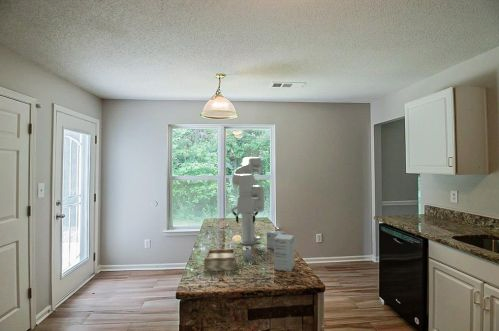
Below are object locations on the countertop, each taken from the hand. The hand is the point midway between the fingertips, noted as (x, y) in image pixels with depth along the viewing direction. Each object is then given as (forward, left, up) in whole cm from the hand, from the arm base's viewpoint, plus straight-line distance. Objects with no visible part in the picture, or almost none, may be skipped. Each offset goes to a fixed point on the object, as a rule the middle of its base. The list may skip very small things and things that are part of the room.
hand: (245, 222), depth 167 cm
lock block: (-1, 0, -21) cm, 21 cm away
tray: (+14, +12, -21) cm, 28 cm away
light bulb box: (-21, -19, -21) cm, 35 cm away
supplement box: (-21, +18, -21) cm, 35 cm away
